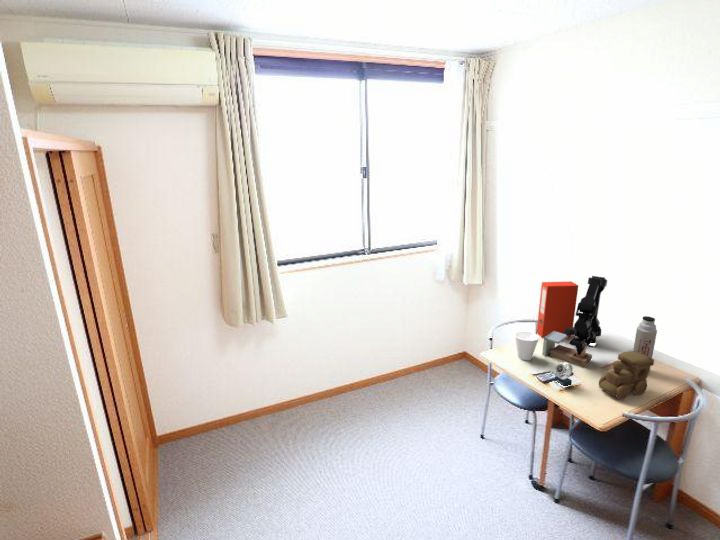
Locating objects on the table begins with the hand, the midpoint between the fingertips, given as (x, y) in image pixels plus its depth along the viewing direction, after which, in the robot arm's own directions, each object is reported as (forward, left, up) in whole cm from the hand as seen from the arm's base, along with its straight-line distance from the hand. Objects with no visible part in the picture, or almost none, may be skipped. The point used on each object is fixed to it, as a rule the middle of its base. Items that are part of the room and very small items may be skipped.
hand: (580, 353), depth 213 cm
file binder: (-23, -23, -5) cm, 33 cm away
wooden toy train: (+15, +24, -5) cm, 29 cm away
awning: (0, -13, -5) cm, 14 cm away
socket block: (0, -4, -5) cm, 6 cm away
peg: (0, 0, -2) cm, 2 cm away
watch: (+28, +3, -5) cm, 29 cm away
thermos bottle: (-11, +24, -5) cm, 27 cm away
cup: (+15, -22, -5) cm, 27 cm away
